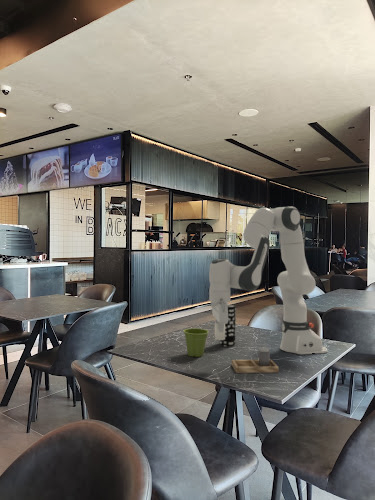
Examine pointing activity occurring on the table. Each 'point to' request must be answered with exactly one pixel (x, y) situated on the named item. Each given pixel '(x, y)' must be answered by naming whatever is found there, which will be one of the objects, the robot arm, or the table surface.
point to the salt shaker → (219, 334)
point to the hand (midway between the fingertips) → (219, 330)
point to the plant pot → (195, 341)
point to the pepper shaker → (264, 357)
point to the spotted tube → (230, 328)
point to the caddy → (253, 366)
